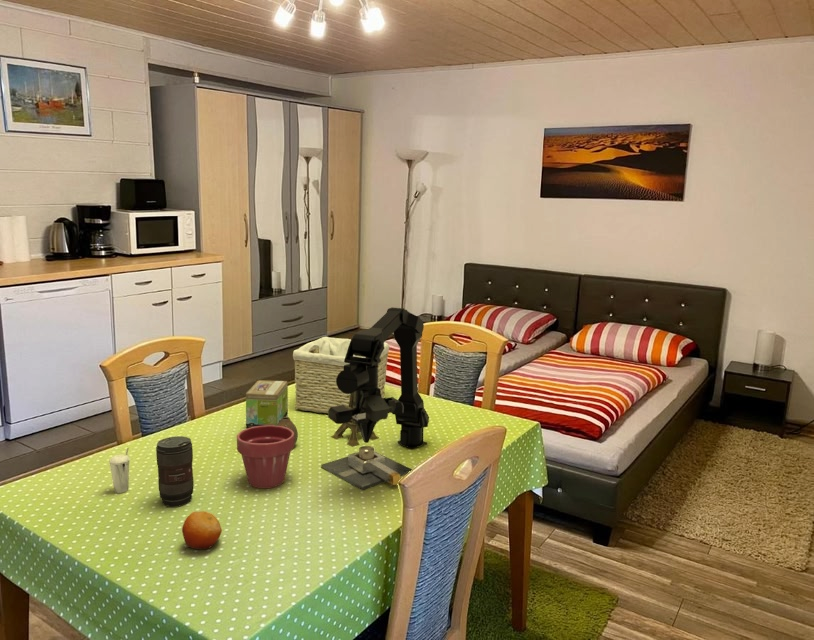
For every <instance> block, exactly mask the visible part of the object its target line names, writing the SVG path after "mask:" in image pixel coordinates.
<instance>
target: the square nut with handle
mask: <svg viewBox="0 0 814 640" xmlns="http://www.w3.org/2000/svg"><path fill="white" fill-rule="evenodd" d="M376 452H377V451H376V450H374V459H370V460H366V461H363V460H361V459H360V458H359V451H357V452H354V453H350V454H348V455H347V457H348V465H350V466H351V467H353V468H354V469H356V470H357V471H359V472H361V473H362V474H363V473H367V472H370V471H371V472H372V473H374V474H375V475H377V476H379V477H380V478H382V479H384V480H385V481H386V482H387V483H389V484H390V485H391V486H395V485H398V481H399V480H400V481H401V476H400V474H399V473H397V472H395V471H394V470H392V469H390V468H389V467H387V466H385V457H386V456H385V457H383V456H384V455H383V454H381V453H379V452H377V453H376ZM378 453H379V454H378ZM380 454H381V455H380ZM382 455H383V456H382Z"/></svg>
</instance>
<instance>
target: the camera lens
mask: <svg viewBox="0 0 814 640" xmlns="http://www.w3.org/2000/svg"><path fill="white" fill-rule="evenodd" d="M155 451H156V455H155V456H156V466H157V472H158V481H157V482H158V493H159V497H160V499H161V503H162V505H164V506H165V507H171V508H174V507H175V508H176V507H180V506H184V505H187V504H188V503H189V502H191V500H192V495H193V493H194V486H195V482H194V472H193V471H194V469H193V468H194V467H193V458H194V454H193V453H194V452H193V451H194V450H193V443H192V439H191V438H189V437H187V436H177V435H176V436H170V437H166V438H163V439H160V440H158V441H157V443H156V447H155Z"/></svg>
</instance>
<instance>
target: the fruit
mask: <svg viewBox="0 0 814 640" xmlns="http://www.w3.org/2000/svg"><path fill="white" fill-rule="evenodd" d="M181 528H182V529H181V531H182V536H183V540H184V542H185V547H184V548H183V550H184V551H185V550H186V549H187V548H192V549H196V550H208V549H210V548H211V547H213V546H214V545H215V544H216V542H217V541H218V540H219V539H220V536H221V535H222V531H223V530H222V526H221V523H220V521H219V519H218V518H217V517H216V516H215V515H214V514H213V513H211V512H207V511H204V510H203V511H202V510H201V511H194V512H193V511H192V512H191V513H190V514H189V515H188V516H187V517H186V518H185V520H184V522H183V524H182V527H181Z"/></svg>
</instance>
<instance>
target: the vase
mask: <svg viewBox="0 0 814 640" xmlns="http://www.w3.org/2000/svg"><path fill="white" fill-rule="evenodd" d="M277 426H283V427H286V428H289V429H291V430H292V431H293V432H294V446H295V445H296V444H297V441H298V435H299V433H298V429H297V427H296V425H295V424H294V423H293V421H292V420H291V418H290V417H289V416H288V417H282V418H281V420H280V422H279V423H278V425H277Z"/></svg>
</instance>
